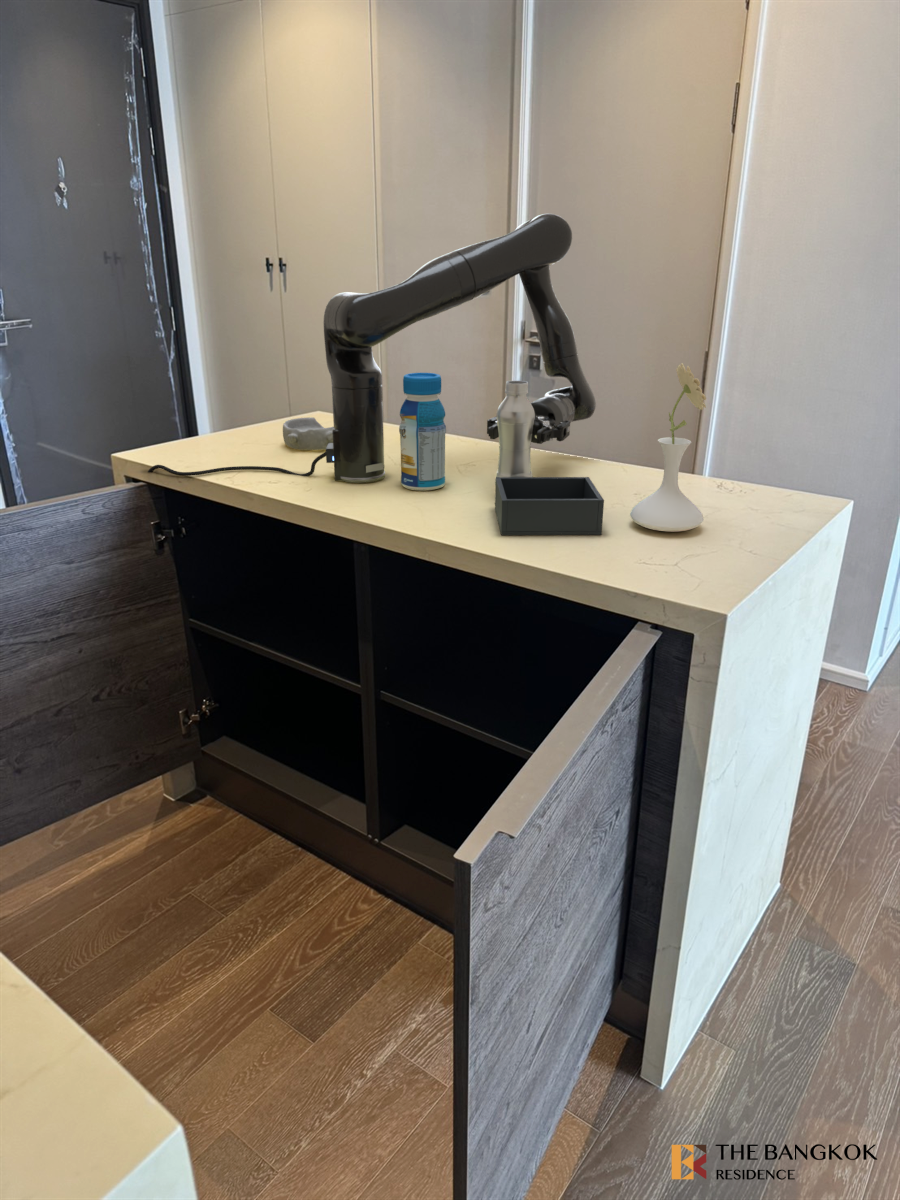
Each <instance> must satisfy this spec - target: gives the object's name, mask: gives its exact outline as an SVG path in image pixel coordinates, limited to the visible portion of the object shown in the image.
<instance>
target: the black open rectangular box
mask: <svg viewBox="0 0 900 1200" xmlns="http://www.w3.org/2000/svg"><path fill="white" fill-rule="evenodd" d="M495 479H496V484H495V483H494V487H495V488H494V491H495V493H494V511H495V515H496V520H497V524H498V529H499V532H500V535H501V536H602V534H603V519H604V508H605V506H604V505H605V500H604V498H603V496H602V494H600V492H599V490H598V488H597V487H596V486H595V484H594V483H593V481H592V479H591V478H590V476H533V477H501V478H500V477H496V476H495Z"/></svg>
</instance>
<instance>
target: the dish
mask: <svg viewBox="0 0 900 1200" xmlns="http://www.w3.org/2000/svg"><path fill="white" fill-rule="evenodd" d="M333 429H334V426H330V427H324V426H323V425H322V424H321V423H319V422H318V421H317V419H316V418H315V417H312V416H311V417H310V416H309V417H297V418H292V419H288V420H286V421H284V423H283V424H282V437H283V442H284V445H285V446H287V447H289V448H291V449H294V450H298V451H323V450H324V451H326V447H327V445H328V443H333V434H332V431H333Z"/></svg>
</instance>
